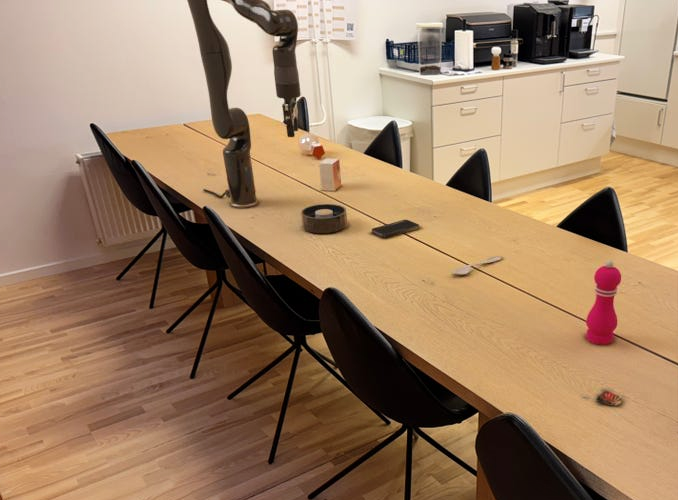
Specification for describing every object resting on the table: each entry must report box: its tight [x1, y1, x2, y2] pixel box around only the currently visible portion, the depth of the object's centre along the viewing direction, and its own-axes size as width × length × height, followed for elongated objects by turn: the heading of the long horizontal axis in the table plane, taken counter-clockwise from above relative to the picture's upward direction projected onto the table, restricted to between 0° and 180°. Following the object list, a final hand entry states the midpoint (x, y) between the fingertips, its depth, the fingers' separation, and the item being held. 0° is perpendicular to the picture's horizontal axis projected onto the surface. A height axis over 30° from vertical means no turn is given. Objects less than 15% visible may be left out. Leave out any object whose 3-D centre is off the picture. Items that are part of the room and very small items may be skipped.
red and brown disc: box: [596, 389, 622, 406], centre depth 140 cm, size 5×5×1 cm
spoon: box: [451, 256, 502, 276], centre depth 199 cm, size 4×21×2 cm, turn 135°
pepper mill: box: [585, 259, 622, 345], centre depth 157 cm, size 7×7×20 cm
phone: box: [371, 219, 420, 239], centre depth 225 cm, size 8×1×15 cm
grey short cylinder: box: [315, 209, 333, 218], centre depth 227 cm, size 6×6×5 cm
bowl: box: [300, 203, 348, 235], centre depth 227 cm, size 15×15×6 cm
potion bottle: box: [298, 132, 326, 160], centre depth 306 cm, size 9×10×15 cm
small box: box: [318, 157, 342, 192], centre depth 263 cm, size 8×6×10 cm
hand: (293, 133), depth 223 cm, fingers open, 8 cm apart
